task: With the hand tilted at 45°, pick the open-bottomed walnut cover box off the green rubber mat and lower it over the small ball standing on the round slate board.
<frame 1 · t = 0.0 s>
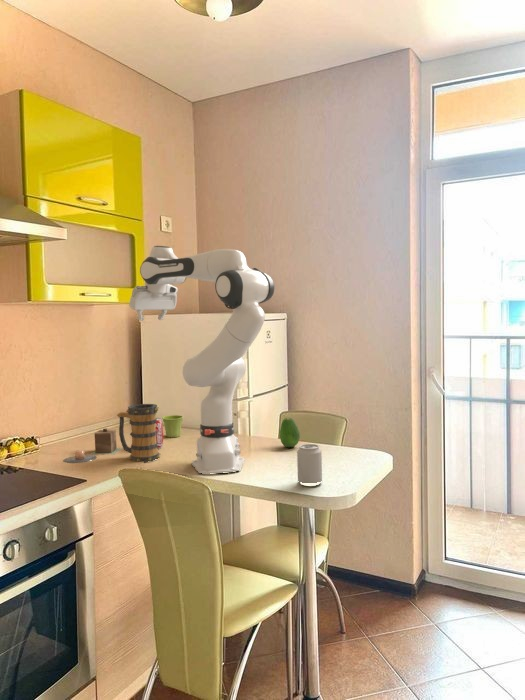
hand: (150, 319, 222), 52 cm above the countertop, tool tilted 20°, fingers open, 8 cm apart
cover box: (106, 451, 221), resting on mat
slate board: (80, 459, 210), on the countertop
mug: (139, 459, 209), on the countertop
can: (310, 484, 171), on the countertop
soda can: (154, 448, 226), on the countertop
avocado: (290, 448, 220), on the countertop
mat: (106, 452, 221), on the countertop
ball: (79, 458, 210), resting on slate board
plant pot: (173, 436, 248), on the countertop
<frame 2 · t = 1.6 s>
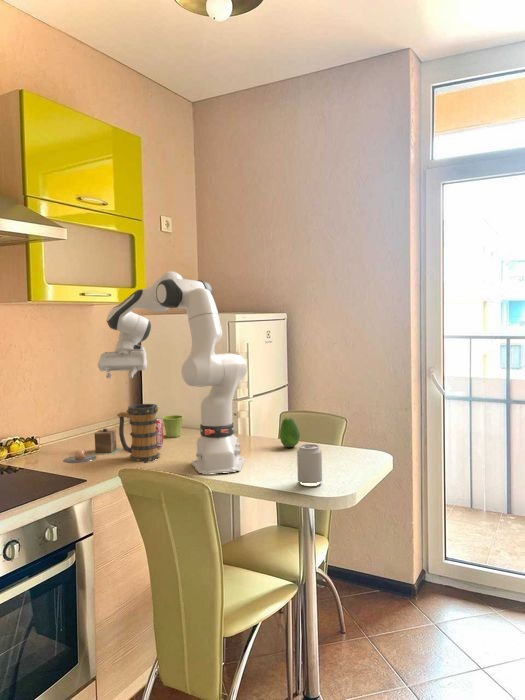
hand: (119, 377, 229), 29 cm above the countertop, tool tilted 45°, fingers open, 8 cm apart
nothing on the countertop moved.
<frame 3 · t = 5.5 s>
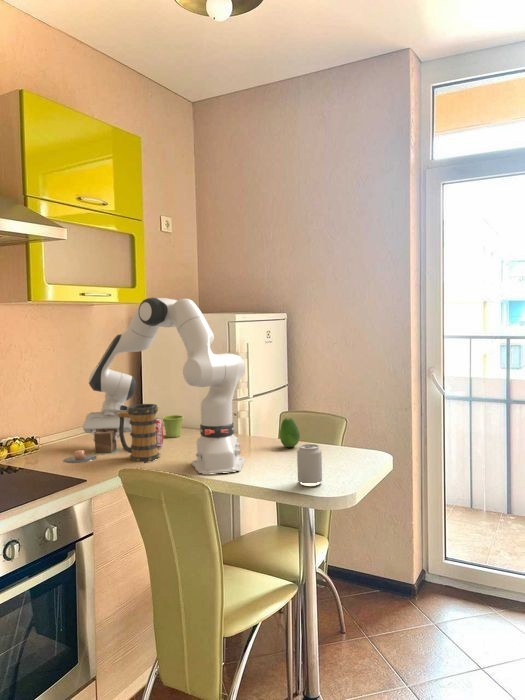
hand: (105, 440, 220), 5 cm above the countertop, tool tilted 45°, fingers closed on cover box, 6 cm apart
cover box: (106, 451, 221), resting on mat, touching gripper
everything else where it was.
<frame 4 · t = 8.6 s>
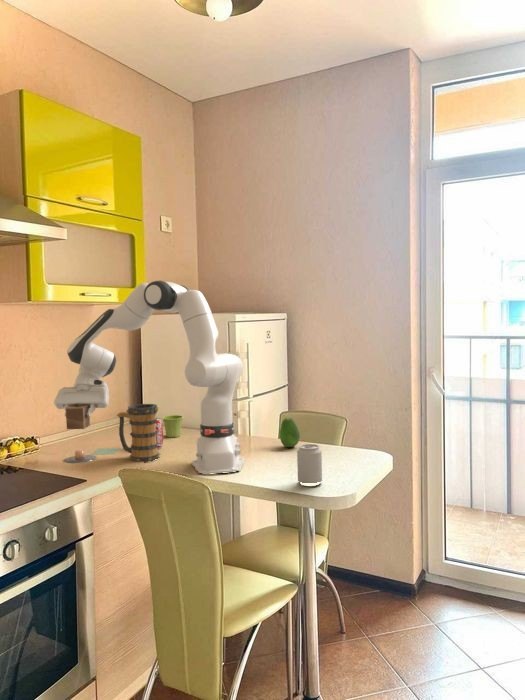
hand: (77, 416, 208), 17 cm above the countertop, tool tilted 45°, fingers closed on cover box, 6 cm apart
cover box: (78, 427, 209), point 12 cm above the countertop, touching gripper
everything else where it was.
when the fingers open (7 cm above the countertop, at t = 11.4 s): cover box drops 2 cm, resting on slate board.
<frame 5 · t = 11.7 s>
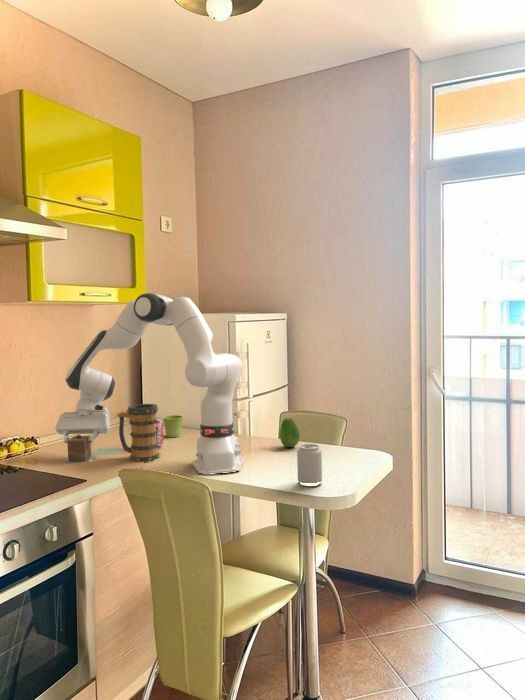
hand: (78, 442, 209), 7 cm above the countertop, tool tilted 45°, fingers open, 8 cm apart
cover box: (80, 458, 210), resting on slate board
everything else where it was.
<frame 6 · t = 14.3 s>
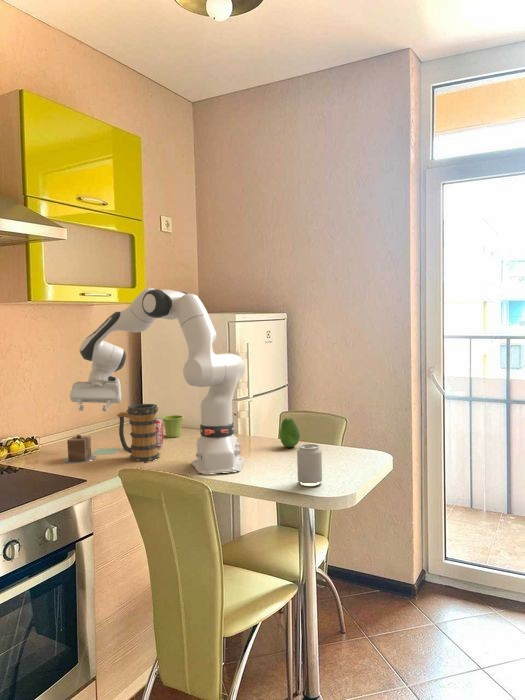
hand: (92, 410, 222), 17 cm above the countertop, tool tilted 45°, fingers open, 8 cm apart
nothing on the countertop moved.
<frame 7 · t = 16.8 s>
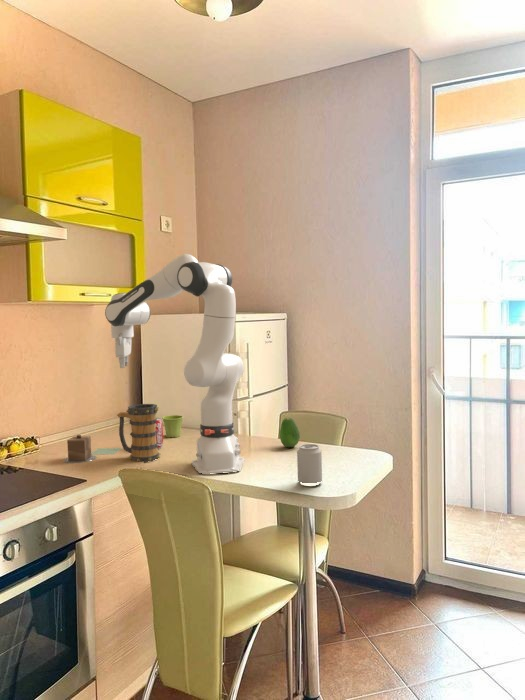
hand: (124, 367, 227), 33 cm above the countertop, tool pointing down, fingers open, 8 cm apart
nothing on the countertop moved.
at the end: cover box 0.1 cm from the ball (horizontally); cover box tilted 0°; cover box resting on slate board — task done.
